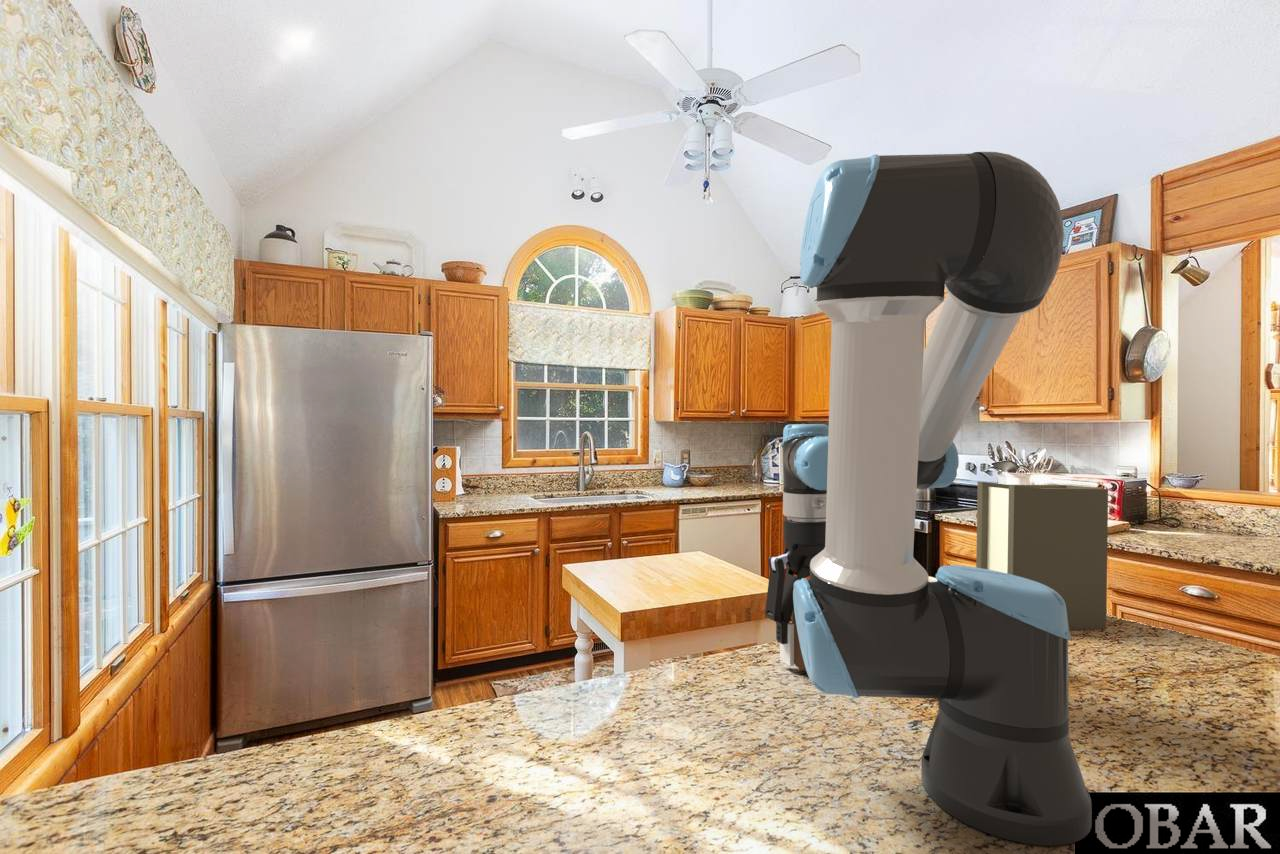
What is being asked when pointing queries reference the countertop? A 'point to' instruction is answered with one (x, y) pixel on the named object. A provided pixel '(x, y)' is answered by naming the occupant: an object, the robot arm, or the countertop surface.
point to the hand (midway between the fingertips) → (807, 658)
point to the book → (1049, 542)
